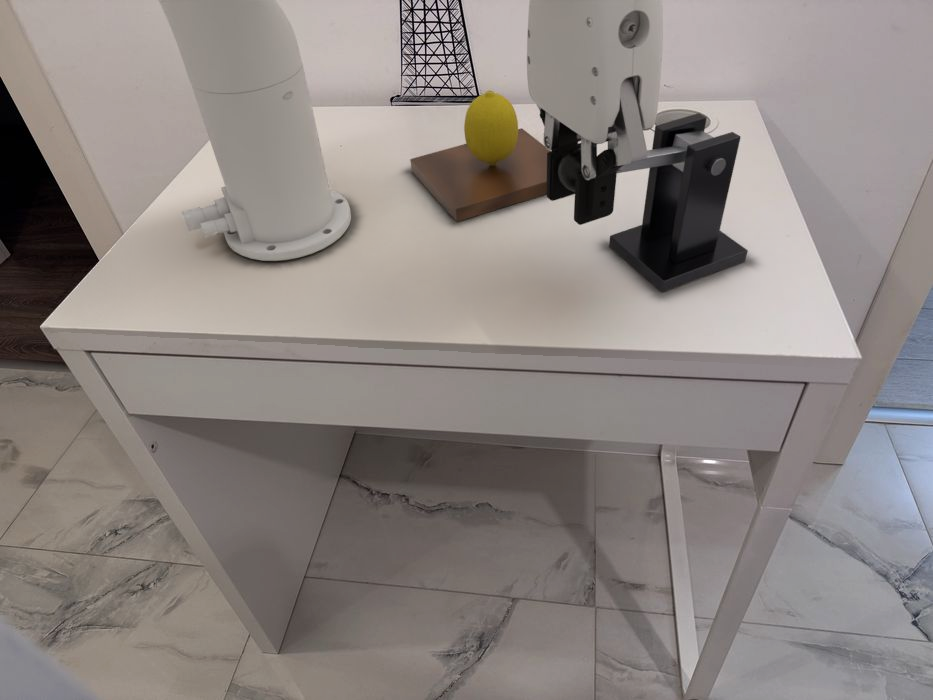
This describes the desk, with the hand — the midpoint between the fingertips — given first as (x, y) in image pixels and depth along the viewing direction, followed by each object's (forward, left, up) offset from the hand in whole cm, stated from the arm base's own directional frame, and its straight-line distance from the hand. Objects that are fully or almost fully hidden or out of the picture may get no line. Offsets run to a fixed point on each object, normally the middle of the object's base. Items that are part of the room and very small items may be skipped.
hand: (579, 204), depth 54 cm
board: (+3, +21, -9) cm, 23 cm away
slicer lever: (+5, 0, +1) cm, 5 cm away
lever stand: (+11, 0, -9) cm, 14 cm away
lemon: (+3, +21, -7) cm, 22 cm away
